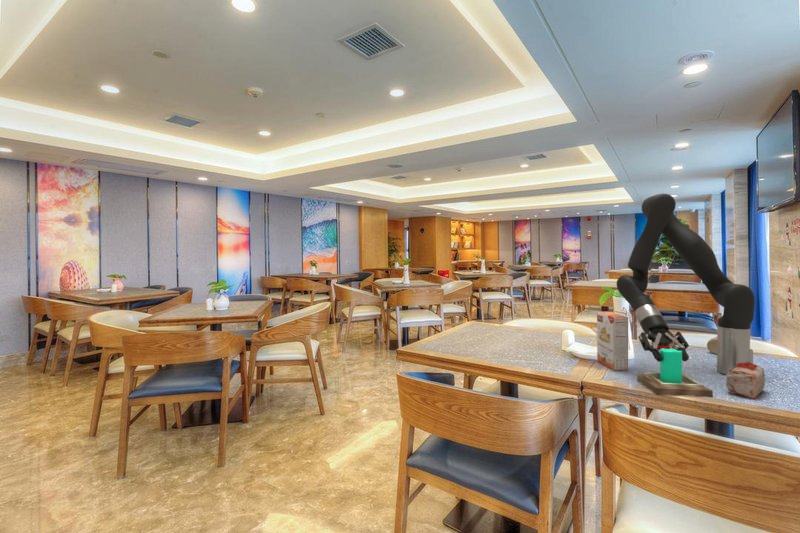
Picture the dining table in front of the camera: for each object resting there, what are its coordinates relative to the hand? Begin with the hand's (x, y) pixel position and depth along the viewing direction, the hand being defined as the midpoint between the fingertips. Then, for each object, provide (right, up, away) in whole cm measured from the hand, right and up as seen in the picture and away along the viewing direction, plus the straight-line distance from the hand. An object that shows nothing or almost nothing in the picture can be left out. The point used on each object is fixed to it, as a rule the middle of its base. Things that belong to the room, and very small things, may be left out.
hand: (673, 360), depth 128 cm
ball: (+33, -8, +54) cm, 64 cm away
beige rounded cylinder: (+52, -8, +43) cm, 68 cm away
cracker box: (-6, -9, +27) cm, 29 cm away
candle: (0, -7, +1) cm, 7 cm away
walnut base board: (0, -9, +1) cm, 9 cm away
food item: (+20, -10, -4) cm, 23 cm away
